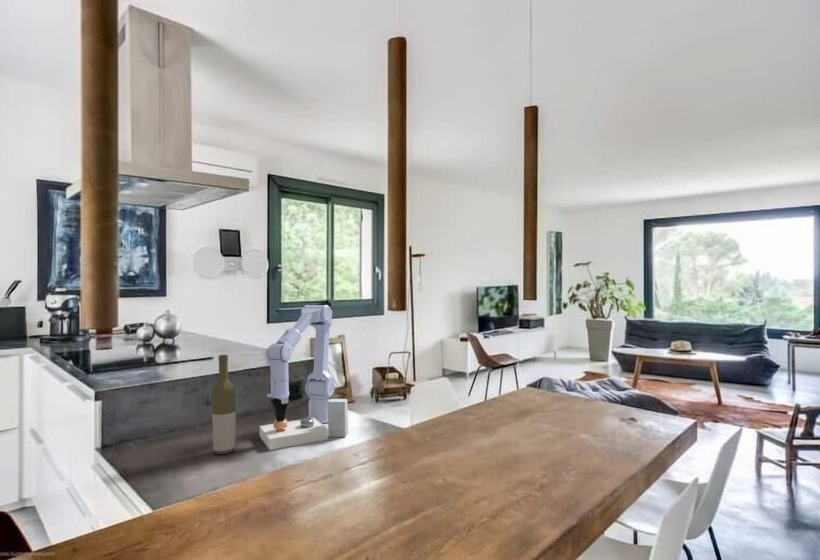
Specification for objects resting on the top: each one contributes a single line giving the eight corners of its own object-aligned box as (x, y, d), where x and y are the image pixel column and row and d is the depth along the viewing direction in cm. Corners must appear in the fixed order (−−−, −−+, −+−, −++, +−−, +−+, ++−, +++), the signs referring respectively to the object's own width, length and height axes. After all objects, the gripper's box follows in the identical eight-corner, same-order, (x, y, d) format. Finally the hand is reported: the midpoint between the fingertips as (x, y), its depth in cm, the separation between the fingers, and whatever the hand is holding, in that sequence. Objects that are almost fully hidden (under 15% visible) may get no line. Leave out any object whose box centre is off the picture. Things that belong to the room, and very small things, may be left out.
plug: (299, 434, 158) (298, 419, 158) (311, 432, 160) (311, 417, 160) (302, 438, 154) (302, 422, 154) (315, 436, 156) (315, 420, 156)
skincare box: (348, 433, 160) (347, 398, 160) (345, 437, 155) (344, 401, 156) (331, 433, 160) (330, 398, 160) (327, 437, 156) (327, 401, 156)
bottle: (207, 456, 140) (206, 357, 141) (218, 447, 147) (217, 353, 148) (230, 456, 140) (229, 357, 140) (240, 447, 147) (239, 353, 147)
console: (259, 436, 158) (259, 425, 158) (313, 427, 167) (313, 417, 168) (269, 450, 144) (269, 439, 144) (328, 439, 153) (327, 429, 154)
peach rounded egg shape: (272, 435, 154) (272, 420, 154) (285, 433, 156) (285, 418, 156) (275, 439, 150) (275, 423, 150) (288, 437, 152) (288, 421, 152)
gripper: (262, 377, 158) (263, 417, 157) (272, 385, 145) (272, 428, 145) (283, 375, 161) (284, 414, 161) (294, 382, 148) (295, 424, 148)
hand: (280, 420), depth 153 cm, fingers closed, pressing on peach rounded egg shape
